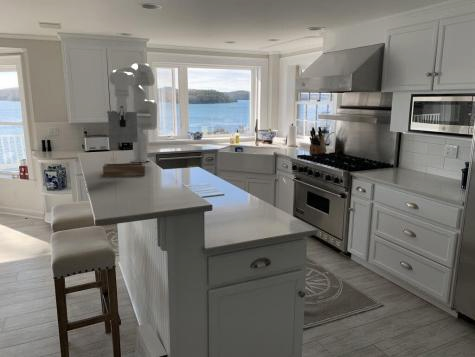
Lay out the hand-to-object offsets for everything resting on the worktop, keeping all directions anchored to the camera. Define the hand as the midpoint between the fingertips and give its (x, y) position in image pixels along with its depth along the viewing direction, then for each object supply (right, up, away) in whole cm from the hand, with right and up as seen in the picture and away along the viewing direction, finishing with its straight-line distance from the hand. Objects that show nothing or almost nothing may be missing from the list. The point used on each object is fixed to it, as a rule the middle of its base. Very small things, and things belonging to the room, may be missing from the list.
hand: (123, 126), depth 215 cm
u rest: (0, -28, +4) cm, 28 cm away
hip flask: (0, -9, +2) cm, 10 cm away
